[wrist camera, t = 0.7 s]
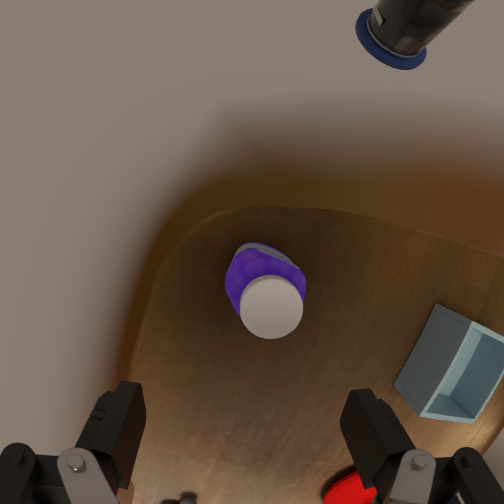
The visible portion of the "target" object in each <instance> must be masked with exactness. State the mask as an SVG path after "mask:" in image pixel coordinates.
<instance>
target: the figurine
mask: <svg viewBox="0 0 504 504" xmlns="http://www.w3.org/2000/svg"><path fill="white" fill-rule="evenodd" d="M179 504H197V503H196V501H195V500H194V499H193V498H192V497H187V498H182V499H181V500H180V502H179Z"/></svg>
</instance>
